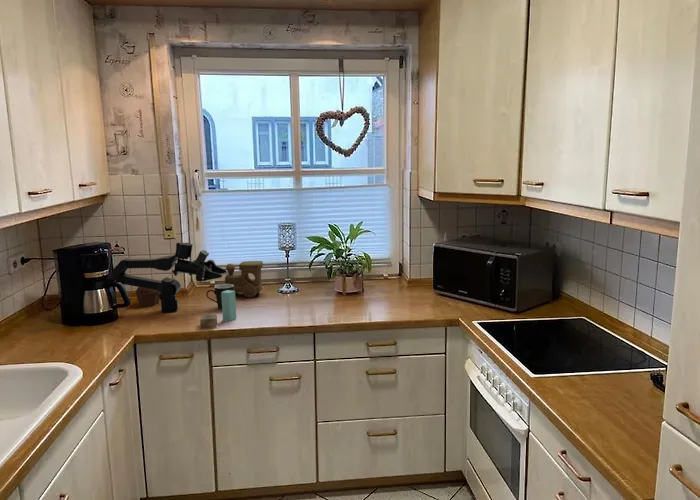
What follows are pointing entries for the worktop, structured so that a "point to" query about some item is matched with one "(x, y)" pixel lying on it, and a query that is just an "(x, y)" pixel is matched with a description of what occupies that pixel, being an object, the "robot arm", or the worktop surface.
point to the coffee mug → (218, 291)
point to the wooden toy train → (245, 278)
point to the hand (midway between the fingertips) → (224, 273)
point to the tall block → (228, 305)
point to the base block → (208, 321)
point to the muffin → (147, 296)
